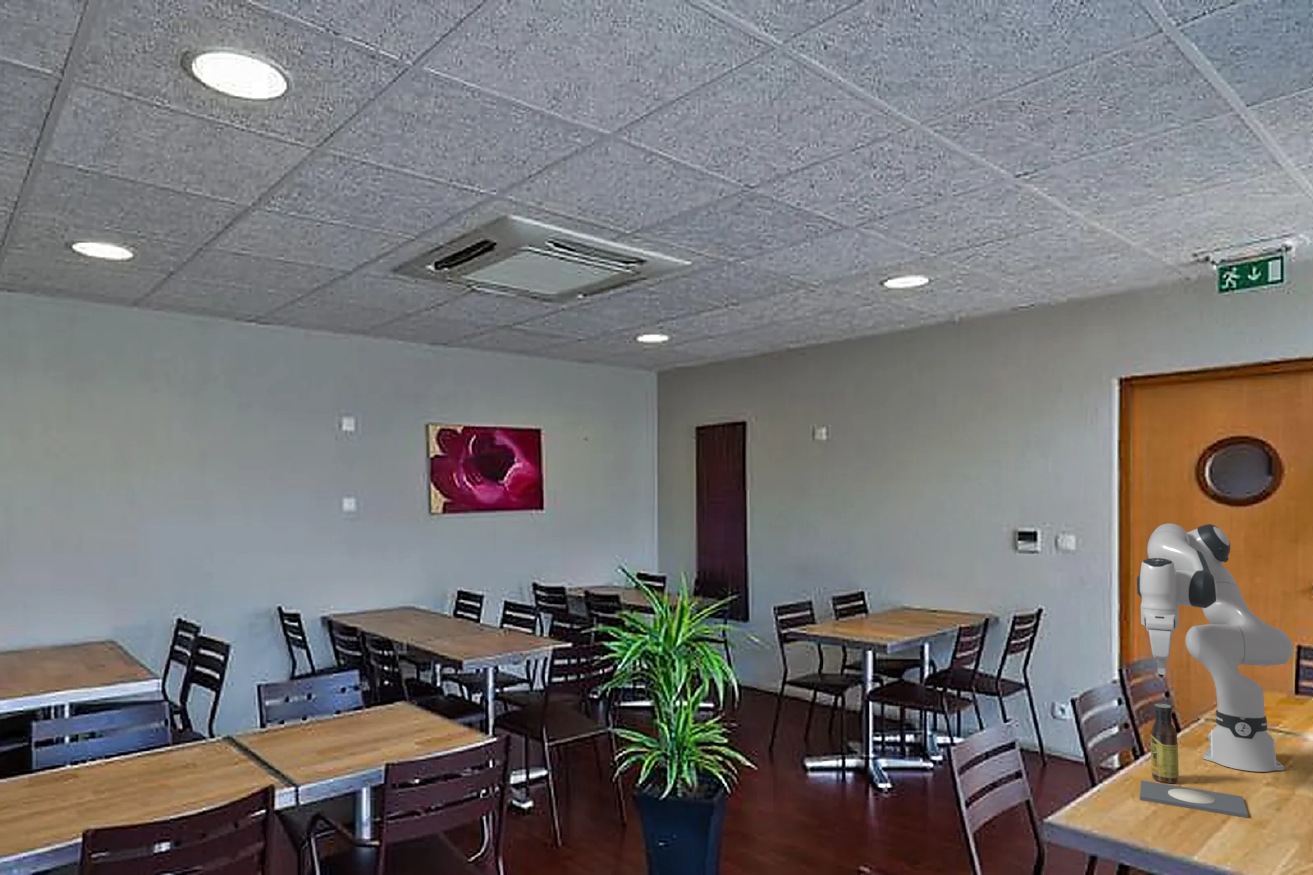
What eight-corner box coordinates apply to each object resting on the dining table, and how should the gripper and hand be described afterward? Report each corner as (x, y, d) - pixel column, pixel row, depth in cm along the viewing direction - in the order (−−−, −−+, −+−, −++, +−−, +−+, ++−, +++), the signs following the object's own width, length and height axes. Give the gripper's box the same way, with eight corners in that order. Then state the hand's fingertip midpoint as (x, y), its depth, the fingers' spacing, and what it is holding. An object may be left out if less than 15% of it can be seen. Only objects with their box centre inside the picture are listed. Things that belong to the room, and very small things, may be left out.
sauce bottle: (1151, 775, 225) (1149, 700, 227) (1178, 779, 222) (1176, 703, 224) (1151, 782, 220) (1149, 705, 221) (1179, 786, 217) (1176, 709, 218)
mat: (1141, 783, 219) (1140, 779, 219) (1242, 799, 207) (1242, 795, 207) (1140, 799, 207) (1139, 795, 207) (1247, 817, 195) (1247, 813, 195)
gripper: (1146, 614, 234) (1148, 663, 233) (1145, 622, 217) (1147, 676, 216) (1172, 615, 231) (1174, 666, 230) (1174, 624, 214) (1176, 679, 213)
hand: (1161, 671), depth 223 cm, fingers open, 8 cm apart
